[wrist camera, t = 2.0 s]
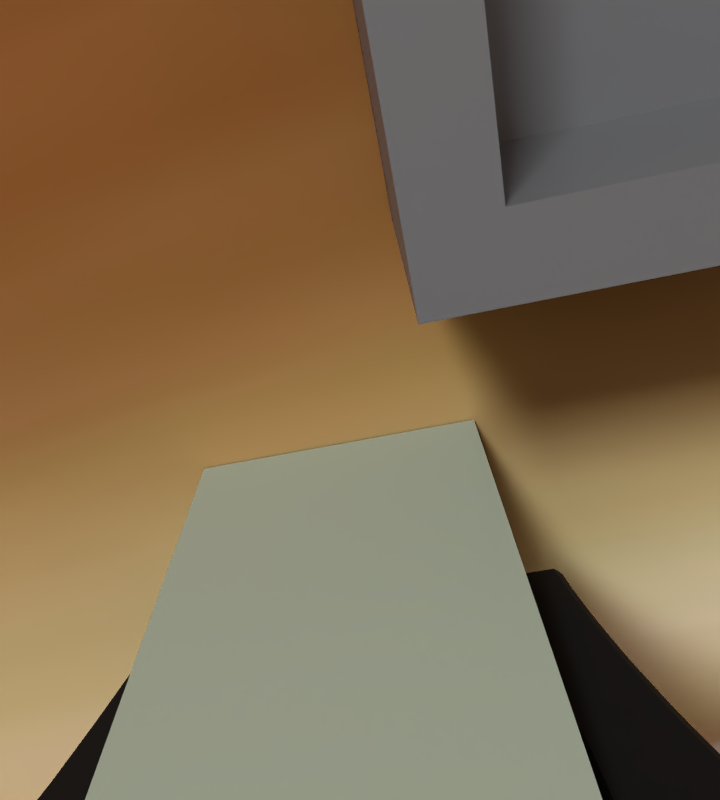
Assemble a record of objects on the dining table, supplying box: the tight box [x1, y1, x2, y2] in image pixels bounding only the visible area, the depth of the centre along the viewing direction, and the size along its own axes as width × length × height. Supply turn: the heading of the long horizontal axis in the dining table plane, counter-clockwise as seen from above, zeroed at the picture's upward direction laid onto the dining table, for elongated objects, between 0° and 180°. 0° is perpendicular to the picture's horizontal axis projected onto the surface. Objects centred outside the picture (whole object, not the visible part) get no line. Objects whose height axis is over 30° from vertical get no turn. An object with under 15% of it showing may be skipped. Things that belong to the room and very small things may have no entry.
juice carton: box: [85, 420, 602, 800], centre depth 8 cm, size 4×4×8 cm
